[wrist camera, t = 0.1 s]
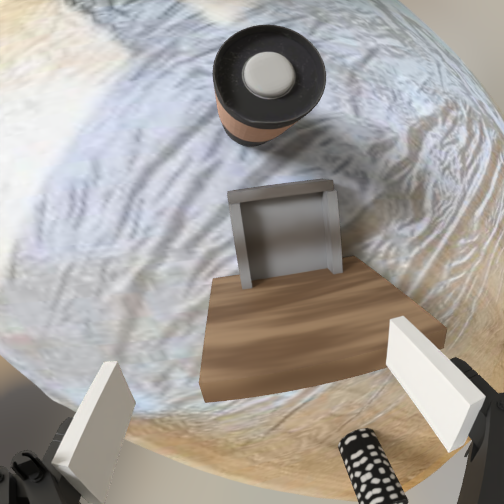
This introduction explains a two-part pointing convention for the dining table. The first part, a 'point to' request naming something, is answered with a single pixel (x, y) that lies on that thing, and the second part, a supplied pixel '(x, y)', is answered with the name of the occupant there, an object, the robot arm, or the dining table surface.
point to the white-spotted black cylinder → (370, 469)
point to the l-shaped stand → (297, 300)
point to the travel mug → (266, 82)
